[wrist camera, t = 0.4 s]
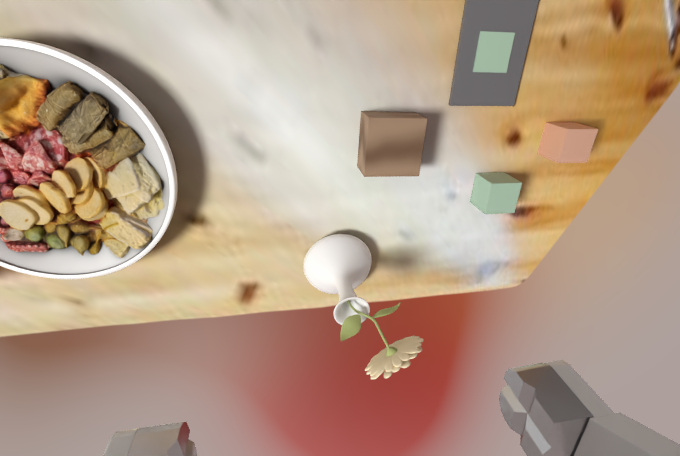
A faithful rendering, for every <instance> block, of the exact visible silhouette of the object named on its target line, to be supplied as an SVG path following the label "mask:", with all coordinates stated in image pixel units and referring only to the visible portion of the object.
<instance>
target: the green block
mask: <svg viewBox="0 0 680 456" xmlns="http://www.w3.org/2000/svg"><path fill="white" fill-rule="evenodd" d="M521 186H522V182H520V181H518V180H517V179H515V178H513V177H511V176H510V175H508V174H506V173H504V172H500V173H476V175H475V180H474V184H473V189H472V194H471V199H470V202H471V203H472V204H473V205H474V206H476V207H477V208H478V209H479V210H480V211H482V212H483V213H484V214H500V213H514V212H515V208H516V204H517V201H518V197H519V193H520V190H521Z"/></svg>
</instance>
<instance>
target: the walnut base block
mask: <svg viewBox="0 0 680 456" xmlns="http://www.w3.org/2000/svg"><path fill="white" fill-rule="evenodd" d="M426 125H427V118H425V117H423V116H421V115H420V114H418V113H416V112H377V111H361V121H360V135H359V149H358V164H357V166H358V168H359V169H360V171H361V172H362V174H363V175H364V177H372V176H419V172H420V165H421V159H422V152H423V145H424V139H425V132H426Z"/></svg>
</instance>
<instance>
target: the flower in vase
mask: <svg viewBox="0 0 680 456" xmlns="http://www.w3.org/2000/svg"><path fill="white" fill-rule="evenodd" d="M371 262H372V259H371V253H370V250H369V248H368V247H367V245H366V244H365V243H364V242H363V241H362V240H360V239H359V238H357V237H355V236H351V235H347V234H335V235H330V236H327V237H325V238H322V239H321V240H319V241H317V242H316V243H315V244H314V245H313V246H312V247H311V248H310V249H309V251H308V252H307V254H306V256H305V259H304V273H305V276H306V278H307V280H308V281H309V282H310V283H311V284H312V285H313V286H314V287H315V288H316V289H318V290H320V291H322V292H325V293H330V294H339V303H338V304H337V306H336V307H335V310H334V318H335V320H336V321H337V322H338V323H339V324H341V325H342V328H341V341H344V340H346V339H348V338H350V337H352V336H354V335H355V334H357V333H358V332H359V330H360V328H361V323H362V322H363V321H364V320H365V319H366V318H369V319H371V320H372V321H373V322H374V323H375V325H376V326H377V329H378V331H379V333H380V335H381V336H382V338H383V340H384V342H385V344H386V346H387V347H386V348H385V349H383V350H382V351H380V352H379V354H377V355H375V356H374V357H373V358H372V359H371V362H370V363H369V364H368V366H367V367H366V369H365V371H367V370H368V371H367V375H368V374H370V376H371V379H376V378H378V377H379V376H380V374H382V373H383V371H384V370H385V372H384V378H388V377H390V376H391V374H392V372H397V371H398V370H399V369H400V367H402V368H406V367H408V366H409V365H410V361H409V359H413V358H415V357H416V356H417V353H419V352H420V351H422V348H421V347H420V346H421V343H422V342H423V340H424V339H421V338H420V337H419V336H418V337H415V336H411V337H406V338H403V339H402V340H398V341H396V342H394V343H393V344H390V345H388V343H387V341H386V339H385V337H384V335H383V333H382V331H381V330H380V327H379V325H378V323H377V322H376V320H375V319H374V318H377V317H381V316H385V315H388V314H390V313H392V312H394V311H395V310H396V309H397V308H398V307H399V305H400V303H399V304H397V305H396V306H393V307H391V308H387V309H383V310H380V311H378V312H377V313H376V314H375V315H374V316H373V317H371V316H369V312H370V307H369V305H368V303H367V302H366V301H365V300H364V299H362V298H359V297H357V296H356V294H355V292H354V290H353V289H355V288H356V287H358V286H359V285H360V284H361V283H362V282H363V281H364V280H365V279H366V278H367V276H368V274H369V271H370V268H371ZM419 338H420V339H419Z"/></svg>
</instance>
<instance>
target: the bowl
mask: <svg viewBox="0 0 680 456" xmlns="http://www.w3.org/2000/svg"><path fill="white" fill-rule="evenodd" d="M177 191H178V182H177V172H176V166H175V162H174V158H173V155H172V152H171V149H170V147H169V144H168V142H167V140H166V138H165V136H164V134H163V132H162V130H161V128H160V127H159V125H158V124H157V122H156V120H155V119H154V118H153V116H152V115H151V114H150V112H149V111H148V110H147V108H146V107H145V106H144V105H143V104H142V103H141V102H140V100H139V99H138V98H137V97H136V96H135V95H134V94H133V93H132V92H130V91H129V90H128V89H127V88H126V87H125V86H124V85H122V84H121V83H120V82H119V81H118V80H116V79H115V78H113V77H112V76H111V75H109V74H108V73H106V72H105V71H103V70H102V69H100V68H99V67H97V66H95V65H93V64H92V63H90V62H88V61H86V60H84V59H82V58H80V57H78V56H76V55H73V54H71V53H69V52H66V51H64V50H61V49H58V48H55V47H52V46H48V45H45V44H41V43H37V42H32V41H27V40H21V39H12V38H0V266H2V267H5V268H8V269H11V270H14V271H17V272H21V273H25V274H29V275H34V276H39V277H46V278H55V279H84V278H92V277H98V276H102V275H106V274H110V273H113V272H116V271H119V270H121V269H123V268H126V267H128V266H130V265H131V264H133V263H135V262H137V261H138V260H140V259H141V258H142V257H144V256H145V255H146V254H147V253H148V252H150V251H151V250H152V249H153V248H154V247H155V246H156V244H157V243H158V242H159V241H160V239H161V238H162V236H163V235H164V233H165V231H166V230H167V228H168V226H169V224H170V222H171V219H172V216H173V214H174V210H175V206H176V201H177Z"/></svg>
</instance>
